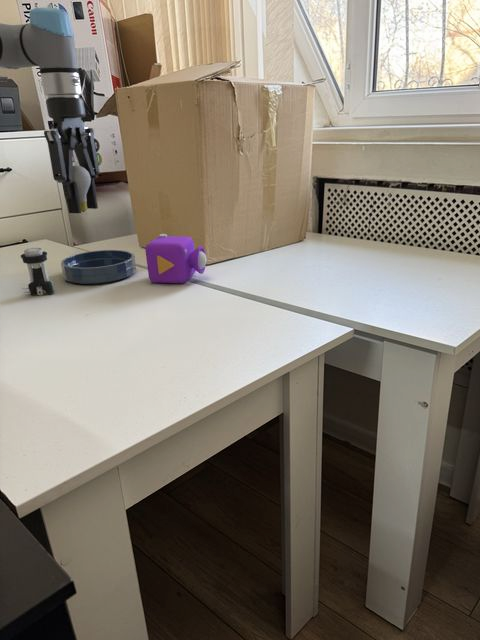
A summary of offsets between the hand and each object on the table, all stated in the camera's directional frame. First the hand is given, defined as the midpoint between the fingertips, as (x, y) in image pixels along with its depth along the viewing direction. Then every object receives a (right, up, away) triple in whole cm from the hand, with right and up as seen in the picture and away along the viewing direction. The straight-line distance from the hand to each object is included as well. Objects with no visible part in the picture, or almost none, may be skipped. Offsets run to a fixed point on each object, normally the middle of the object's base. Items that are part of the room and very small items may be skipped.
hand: (83, 210), depth 116 cm
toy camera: (+21, -15, +6) cm, 27 cm away
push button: (-9, -19, -2) cm, 22 cm away
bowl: (+1, -13, +10) cm, 17 cm away
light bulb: (0, -1, 0) cm, 1 cm away
